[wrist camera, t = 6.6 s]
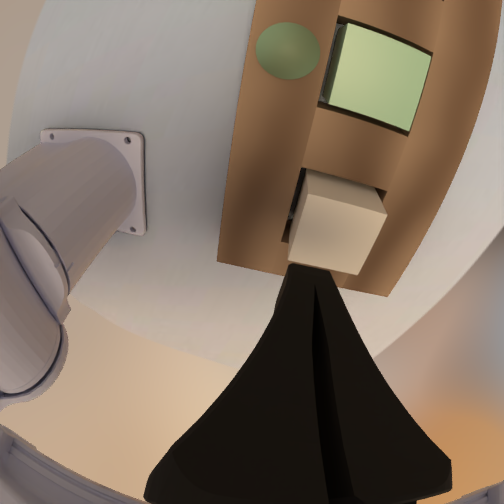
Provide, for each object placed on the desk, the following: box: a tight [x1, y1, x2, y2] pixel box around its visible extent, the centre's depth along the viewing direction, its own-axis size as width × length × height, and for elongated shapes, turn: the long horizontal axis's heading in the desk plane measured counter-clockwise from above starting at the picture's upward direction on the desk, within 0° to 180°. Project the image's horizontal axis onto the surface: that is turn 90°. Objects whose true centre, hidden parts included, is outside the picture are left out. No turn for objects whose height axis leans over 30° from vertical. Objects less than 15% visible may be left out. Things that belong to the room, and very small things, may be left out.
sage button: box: [323, 23, 431, 131], centre depth 11 cm, size 4×4×3 cm
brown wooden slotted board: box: [217, 0, 502, 297], centre depth 11 cm, size 12×26×3 cm, turn 171°
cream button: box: [288, 169, 387, 275], centre depth 15 cm, size 4×4×3 cm
